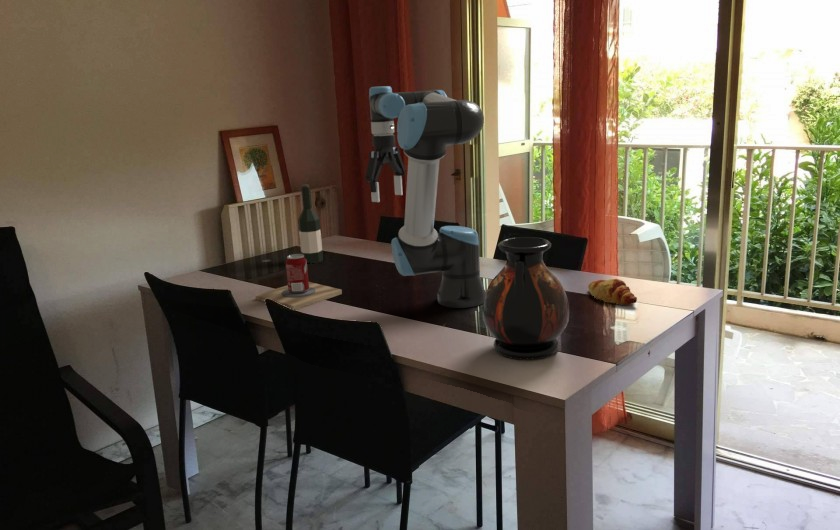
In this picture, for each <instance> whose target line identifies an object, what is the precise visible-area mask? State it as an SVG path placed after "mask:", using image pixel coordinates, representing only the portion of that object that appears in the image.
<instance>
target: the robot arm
mask: <svg viewBox="0 0 840 530" xmlns="http://www.w3.org/2000/svg"><path fill="white" fill-rule="evenodd" d="M368 94H369V95H368V100H369V111H370V130H371V134H372V137H371V139H372V140H371V141H372V147H373V148H375V151H369V156H368V157H369V159H368V165H367V168H366V173H365V177H364V181H365V182H367V183H369V187H370V188H369V189H370V190H369V191H370V193H371V196H370V197H371V202H372V203H380V201H381V199H380V185H379V183H380V182H378V179H379V175H380V173H381V171H382V168H383V166H385V164H388V165H389V166H390V168H391V170H392V171H393V173H394V175H393V185H394V195H395V196H403V176H405V174H406V167H405V164H404V163H403V159H402V157H401V154H400V149H402V150H403V153H404V155H406V157H407V159H408V161H407V163H408V164H407V176H406V191H405V192H406V195H405V209H404V223H403V224H404V225H403V226H402V227H401V228H400V229H399V230H398V236H397V237H394V238H392V239H391V243H390V244H391V251H392V257H393V261H394V264H395V267H396V270H397V271H398V273H399V275H401V276H403V277H406V276H414V277H415V276H417V275H424V274H431V273H438V272H439V273H440V272H441V281H440V284H439V287H438V292H437V303H438V304H439V305H440V306H442V307H446V308H453V309H466V308H473V307H477V306H481V305H483V303H484V298H485V294H486V291H487V290H485V287H484V283H483V281H482V278H481V273H480V271H481V270H480V269H481V266H480V242H479V234H478V232H477V230H476V229H473V228H471V227H467V226H461V225H444V226H441V227H439V232H438V231H437V230H436V229H435V228H434V225H435V214H436V206H437V205H436V204H437V193H438V183H439V171H440V160H441V159H443V158H444V157H445V156H446V154H447V147H449V146H456V145H463V144H466V143H468V142H471V141H473V140H474V139H475V138H476V137H477V136H479V134H480V133H481V131H482V130H483V127H484V123H485V117H484V113H483V110H482V108H481V107H480V106H479V105H478V104H477V103H476V102H473V101H471V100H469V99H468V100H467V99H459V100H457V99H454V98H451V97H448V96H447V94H446V92H445V91H444V90H442V89H430V90H421V91H419V90H418V91H403V92H401V91H400V92H399V91H398V92H393V89H392V87H391V86H390V85H389V86H388V85H386V86H385V85H384V86H371V87H370V88H369V91H368ZM395 119H397V125H396V133H397V135H395V134H394V133H395V122H394V121H395ZM396 136H397V137H396ZM396 138H397V143H398V146H396Z"/></svg>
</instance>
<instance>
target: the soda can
mask: <svg viewBox="0 0 840 530" xmlns="http://www.w3.org/2000/svg"><path fill="white" fill-rule="evenodd" d="M285 270H286V281H287V285H288V290H289V292H292V293H295V294H298V293H304V292H306V291H307V290H308V289H309V282H310V281H309V273H308V264H307V261H306V259H305V258H304V255H303V254H301V253H293V254H289V255H287V256H286V260H285Z"/></svg>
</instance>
